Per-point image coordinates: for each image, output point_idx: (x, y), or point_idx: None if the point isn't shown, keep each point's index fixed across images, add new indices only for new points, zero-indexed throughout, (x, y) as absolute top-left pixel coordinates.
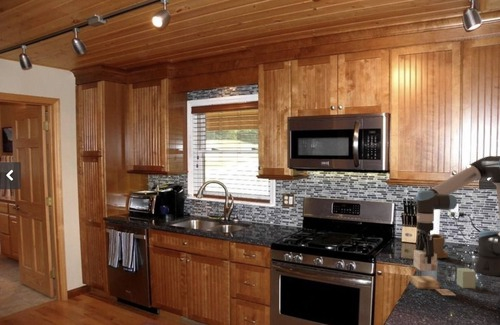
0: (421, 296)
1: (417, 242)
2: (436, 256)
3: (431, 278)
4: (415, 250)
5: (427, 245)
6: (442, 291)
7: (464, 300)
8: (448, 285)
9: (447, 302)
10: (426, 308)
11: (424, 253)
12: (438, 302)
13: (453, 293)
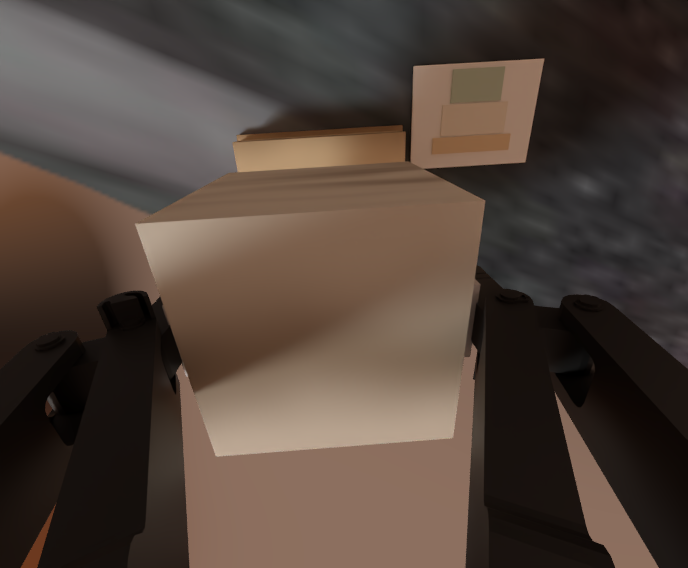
0: (526, 291)
1: (24, 532)
2: (466, 197)
3: (302, 160)
4: (232, 442)
5: (660, 549)
6: (470, 138)
7: (643, 39)
8: (305, 5)
9: (641, 183)
10: (676, 315)
11: (418, 381)
12: (626, 235)
13: (511, 64)
